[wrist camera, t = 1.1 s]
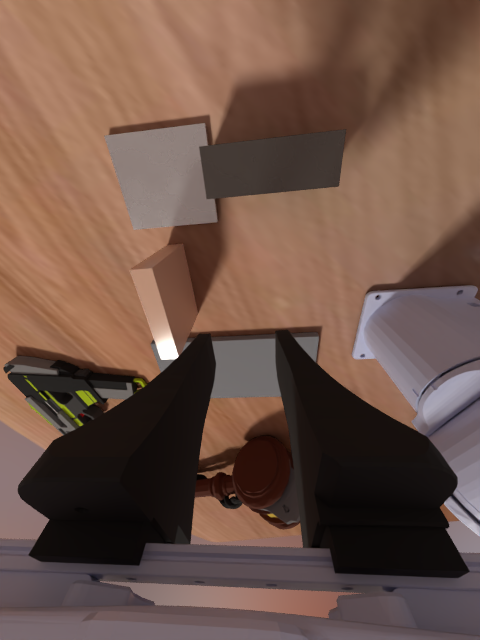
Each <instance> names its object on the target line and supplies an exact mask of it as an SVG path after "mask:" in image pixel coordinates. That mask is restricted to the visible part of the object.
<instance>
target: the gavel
mask: <svg viewBox="0 0 480 640" xmlns="http://www.w3.org/2000/svg"><path fill="white" fill-rule="evenodd" d="M230 494H236V497H234V496H233V497H231V498H230V499H229V495H230ZM206 496H212V497H215V498H216V499H218V500H219V501H220V503H221V504H222V505H223V506H224V507H225V508H230V509H236V508H239V507H240V506H241V505H242V503H243V504H244V505H246V506H248V507H249V508H250V509H251V510H252V511H254V512H256V513H259V514H260V516H261V517H262V518H263V519H265V520H266V521H268V522H269V523H270V524H271V525H273V526H275V527H277V528H279V529H289V528H293V527H295V526H296V525H298V524H299V523H300V515H299V506H298V498H297V490H296V482H295V474H294V466H293V458H292V456H291V454H290V453H289V452H288V451H287V449H286V448H285V447H284V446H283V445H282V443H281V442H279V441H278V440H277V439H275V438H273V437H270V436H260V437H256V438H254V439H252V440H251V441H249V442H247V443H246V444H245V446H244V447H243V448H242V449H241V451H240V452H239V453H238V456H237V458H236V460H235V464H234V468H233V472H232V475H231V476H230V475H226V474H225V473H223V472H219V473H217V474H216V476H215V477H212V478H209V479H207V477H206V476H204V475H202V474H197V480H196V489H195V497H206Z"/></svg>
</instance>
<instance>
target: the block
mask: <svg viewBox="0 0 480 640" xmlns="http://www.w3.org/2000/svg"><path fill="white" fill-rule="evenodd" d="M130 273H131V276H132V279H133V282H134V284H135V287H136V290H137V293H138V296H139V298H140V301H141V304H142V307H143V310H144V312H145V315H146V318H147V321H148V324H149V326H150V329H151V332H152V335H153V338H154V340H155V343H156V346H157V349H158V352H159V354H160V357H161V359H176V358H177V357H178V356H179V355H180V354H181V353H182V351H183V348H184V346H185V343H186V341H187V339H188V336H189V334H190V332H191V329H192V327H193V325H194V322H195V320H196V317H197V315H198V311H197V306H196V301H195V296H194V292H193V287H192V282H191V278H190V273H189V268H188V263H187V259H186V254H185V249H184V245H183V244H171V245H167V246H165V247H164V248H162V249H160V250H159V251H157V252H156V253H154V254H153V255H151V256H150V257H148V258H147V259H145V260H144V261H142V262H141V263H139V264H138V265H136V266H135V267H133V268H131V269H130Z"/></svg>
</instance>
